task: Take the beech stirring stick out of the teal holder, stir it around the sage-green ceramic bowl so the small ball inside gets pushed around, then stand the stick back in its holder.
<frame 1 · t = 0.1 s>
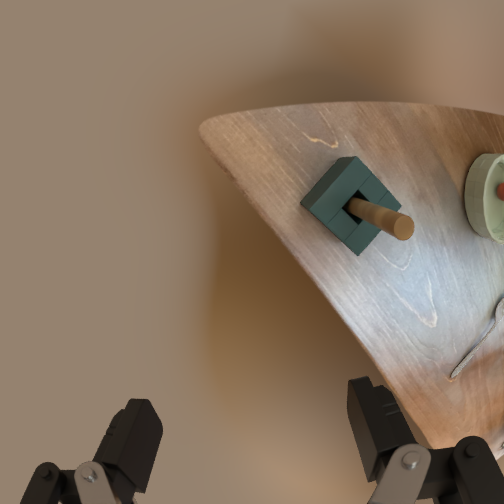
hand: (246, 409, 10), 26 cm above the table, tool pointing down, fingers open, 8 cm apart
holder: (341, 200, 33), on the table
bowl: (489, 195, 32), on the table
spoon: (481, 334, 40), on the table
stick: (365, 210, 26), in the holder
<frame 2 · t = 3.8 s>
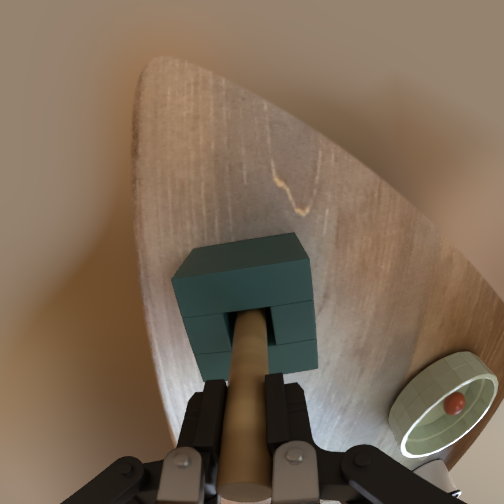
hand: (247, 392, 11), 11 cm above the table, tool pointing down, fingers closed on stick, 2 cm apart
holder: (251, 287, 22), on the table
bowl: (435, 393, 25), on the table
ball: (454, 403, 24), point 2 cm above the table, touching bowl
mug: (421, 473, 33), on the table
stick: (249, 350, 14), in the holder, touching gripper
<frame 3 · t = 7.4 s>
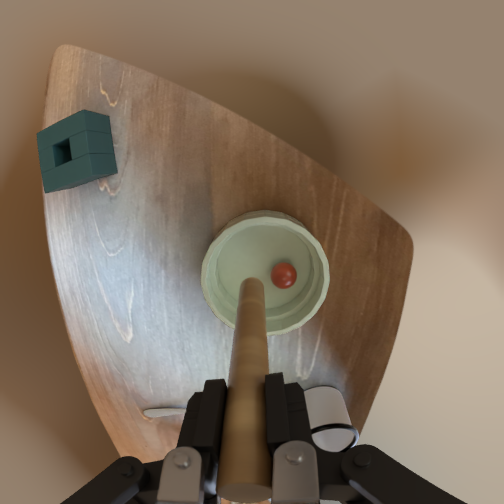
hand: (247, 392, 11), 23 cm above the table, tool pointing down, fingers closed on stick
holder: (89, 152, 30), on the table
bowl: (264, 265, 34), on the table
spoon: (192, 404, 41), on the table
ball: (283, 275, 32), point 2 cm above the table, touching bowl
mug: (318, 406, 41), on the table
stick: (249, 351, 14), point 20 cm above the table, touching gripper
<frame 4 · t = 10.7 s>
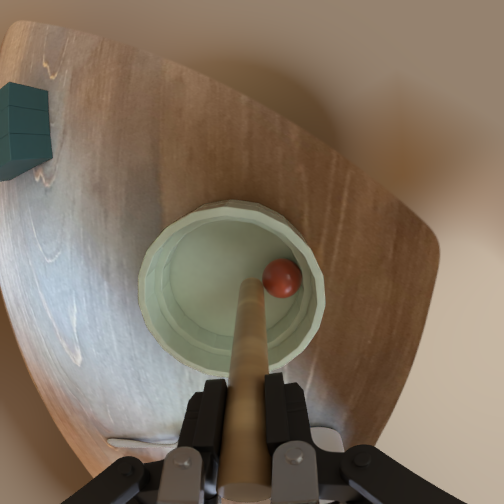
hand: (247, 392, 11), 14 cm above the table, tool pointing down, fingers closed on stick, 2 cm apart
holder: (26, 136, 21), on the table
bowl: (234, 278, 24), on the table
spoon: (159, 438, 31), on the table
ball: (282, 278, 22), point 2 cm above the table, tilted 91°, touching bowl, stick
mug: (310, 447, 31), on the table
stick: (249, 351, 14), point 11 cm above the table, touching ball, gripper
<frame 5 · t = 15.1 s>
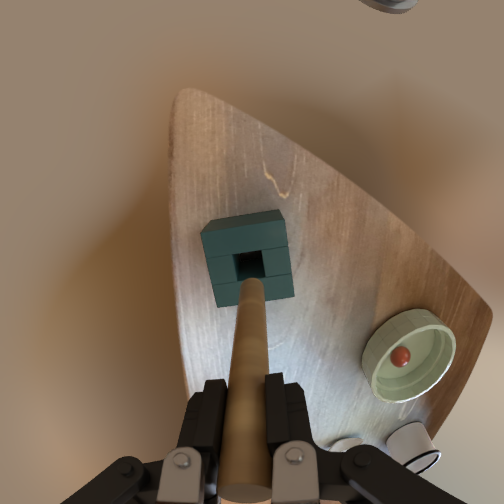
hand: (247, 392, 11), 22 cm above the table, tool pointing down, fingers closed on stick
holder: (250, 247, 32), on the table
bowl: (402, 347, 35), on the table
spoon: (308, 451, 43), on the table
ball: (400, 356, 33), point 2 cm above the table, tilted 86°, touching bowl
mug: (403, 437, 43), on the table
stick: (250, 351, 14), point 18 cm above the table, touching gripper
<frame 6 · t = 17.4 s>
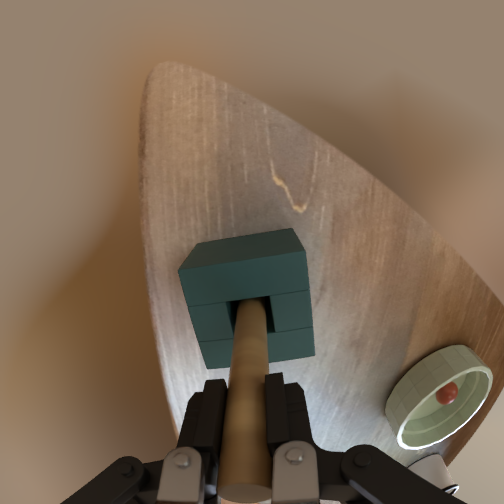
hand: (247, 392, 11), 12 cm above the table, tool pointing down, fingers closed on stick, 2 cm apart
holder: (252, 280, 23), on the table
bowl: (431, 386, 27), on the table
ball: (446, 392, 25), point 2 cm above the table, tilted 20°, touching bowl
mug: (419, 468, 34), on the table
stick: (250, 351, 14), point 9 cm above the table, touching gripper
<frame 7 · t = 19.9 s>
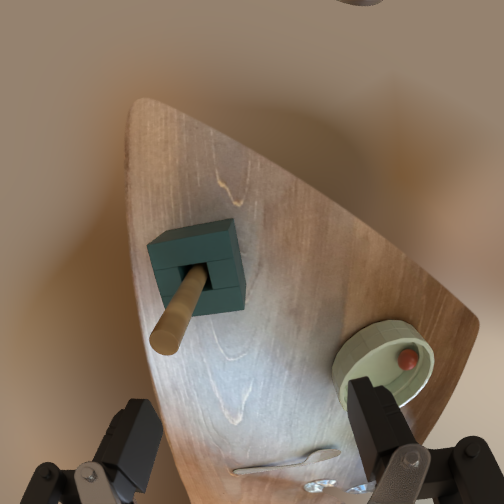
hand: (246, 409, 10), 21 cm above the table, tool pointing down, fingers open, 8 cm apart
holder: (206, 258, 31), on the table
bowl: (376, 359, 34), on the table
spoon: (284, 461, 41), on the table
ball: (407, 359, 32), point 2 cm above the table, tilted 111°, touching bowl
stick: (190, 288, 23), in the holder
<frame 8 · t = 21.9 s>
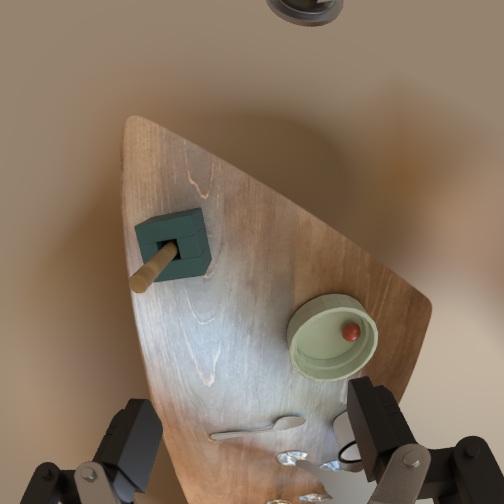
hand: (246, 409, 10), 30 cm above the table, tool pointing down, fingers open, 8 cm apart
holder: (180, 238, 39), on the table
bowl: (328, 330, 43), on the table
spoon: (255, 427, 50), on the table
ball: (351, 332, 41), point 2 cm above the table, tilted 86°, touching bowl
mug: (352, 422, 50), on the table
stick: (163, 256, 32), in the holder
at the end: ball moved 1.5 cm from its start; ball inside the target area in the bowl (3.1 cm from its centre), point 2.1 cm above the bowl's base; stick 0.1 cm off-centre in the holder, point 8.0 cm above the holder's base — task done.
